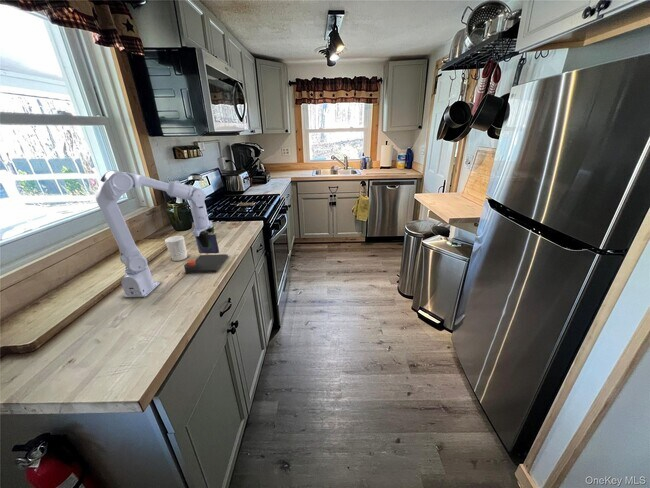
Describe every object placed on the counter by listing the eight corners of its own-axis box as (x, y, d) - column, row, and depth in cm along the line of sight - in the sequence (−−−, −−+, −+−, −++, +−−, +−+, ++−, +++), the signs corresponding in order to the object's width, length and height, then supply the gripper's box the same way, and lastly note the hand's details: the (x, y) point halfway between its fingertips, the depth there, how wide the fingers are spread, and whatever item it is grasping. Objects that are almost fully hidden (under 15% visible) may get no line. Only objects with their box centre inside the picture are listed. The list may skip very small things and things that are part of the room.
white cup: (181, 262, 120) (175, 242, 116) (166, 261, 122) (160, 241, 118) (192, 254, 127) (187, 236, 123) (178, 253, 129) (173, 235, 125)
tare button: (193, 266, 110) (192, 262, 109) (186, 266, 110) (185, 263, 109) (196, 263, 113) (195, 259, 112) (190, 263, 113) (189, 259, 112)
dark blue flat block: (197, 253, 115) (192, 230, 111) (201, 250, 117) (196, 228, 113) (217, 253, 114) (213, 230, 110) (220, 251, 117) (216, 228, 113)
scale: (215, 272, 110) (214, 266, 108) (183, 273, 110) (181, 267, 109) (228, 256, 124) (226, 251, 123) (199, 257, 124) (197, 252, 123)
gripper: (202, 221, 102) (209, 252, 108) (216, 211, 116) (221, 239, 121) (184, 221, 102) (192, 252, 108) (200, 211, 116) (206, 239, 121)
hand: (207, 245), depth 114 cm, fingers closed on dark blue flat block, 3 cm apart
